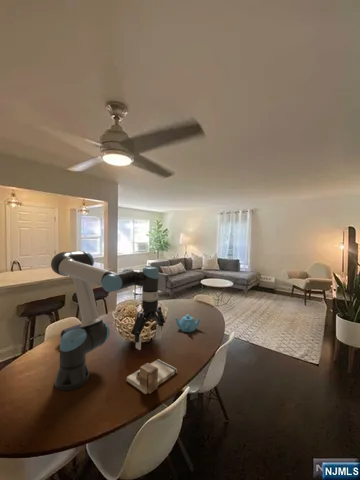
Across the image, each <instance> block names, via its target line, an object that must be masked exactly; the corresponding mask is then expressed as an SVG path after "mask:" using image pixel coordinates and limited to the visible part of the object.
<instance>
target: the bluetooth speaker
mask: <svg viewBox="0 0 360 480" xmlns="http://www.w3.org/2000/svg"><path fill="white" fill-rule="evenodd" d="M81 324H82V323H79V324H76V325H73V326H69V327H67V328H64V329H62V330H61V332H60V338H61V337H62V336H63V335H64V334H65V333H66V332H68V331H70V330H75V329H81V328H80V326H81Z"/></svg>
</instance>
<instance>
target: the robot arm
mask: <svg viewBox="0 0 360 480" xmlns="http://www.w3.org/2000/svg"><path fill="white" fill-rule="evenodd" d="M50 267H51V270H52V272H54V273H55V274H57V275H60V276H61V277H62V276H63V277H68V276H69V278H70V279H72V280H73V284H74V289H75V295H76V298H77V303H78V307H79V313H80V317H81V322H82V323H80V324H81V326H80V328H81V329H75V330H70V331H68V332H66V333H65V334H64V335H63V336H62V337H61V336H60V342H59V368H58V370H57V373H56V377H55V380H54V381H55V382H54V387H55V388H56V389H57V390H60V391H72V390H76V389H78V388H80V387H82V386H84V385H86V383H88V381H89V379H90V371H89V368H88V365H87V362H86V361H87V359H86V358H87V354H89V353H90V352H92V351H94V350H95V349H97V348H99V347H102V345H104V344H105V343H106V342H107V341H108V340H109V337H110V333H111V331H110V327H109V325H108V324H107V323H106V322H105V321H103V318H101V317H100V316H99V312H98V308H97V303H96V298H95V294H94V290H93V285H92V284H95V285H98V286H101V287H102V289H103V290H104V291H105V292H107V293H112V292H117V291H119V290H120V291H121V290H123V289H126V288H130V287H132V286H135V287H137V286H138V287H142V288H141V289H142V291H141V292H142V295H141V298H142V302H141V307H142V312H140V311H138V312H137V315H136V319H135V322H134V325H133V327H132V330H131V335H133V336H134V342H135V349H137V350H139V351H141V349H142V337H141V335H140V334H142V332H143V329H144V327H146V324H147V323H148V322H149V321H150V320H154V321H155V322H156V328H155V330H156V331H155V332H156V333H155V334H156V335H155V338H156V339H158V340H162V332H163V331H162V330H163V327H164V325H165V323H166V320H165V317H164V314H163V312H162V307H161V306H159V305H158V303H159V300H158V299H159V280H160V279H159V278H160V276H159V272H160V271H159V268H158V267H155V266H144V267H143V268H142V270H139V269H133V268H125V269H123V270H122V271H120V272H115V271H111V270H108V269H106V268H101V267H97V266H95V261H94V258H93V255H92V254H91V253H90V252H88V251H85V250H73V251H62V252H59V253H56V254H55V255H54V256H53V257H52V259H51V262H50Z"/></svg>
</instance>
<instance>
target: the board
mask: <svg viewBox="0 0 360 480" xmlns="http://www.w3.org/2000/svg"><path fill="white" fill-rule="evenodd" d="M150 364H151V365H153V366H155V367H157V368H158V386H160V385H161V384H163V383H164V382H165V381H167V380H169V379H170V378H171V377H173V376H174V375H175V374H177V373H178V372H177V371H178V369H177V368H176V367H174V366H172V365H170V364H168V363H167V362H165V361H162V360H161V359H158V358H157V359H156V360H154V361H152V362H150ZM137 372H140V369H138V370H137V371H135V372H133V373H131V374H129V375H128V376H126V382H128V383H129V384H130V385H132V386H133V387H134V388H136V389H138V390H139V391H140V392H142V393H143V394H144V395H147V394H149V393H148V388H145V387H144V386H142V385H141V384H140V380H139V379H137V378H136V375H137Z"/></svg>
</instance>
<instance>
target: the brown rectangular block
mask: <svg viewBox="0 0 360 480" xmlns="http://www.w3.org/2000/svg"><path fill="white" fill-rule="evenodd" d="M139 370H140V372H137V375H136V378H137V379H139V380H140V384H141V385H142V386H144V387H145V388H148V393H147V394H152V393H153V392H154V391H157V389H158V386H159V385H158V368H157V367H155V366H153V365H151V363H149V362H146V363H144V364H143V365H141V366H140V367H139Z"/></svg>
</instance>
